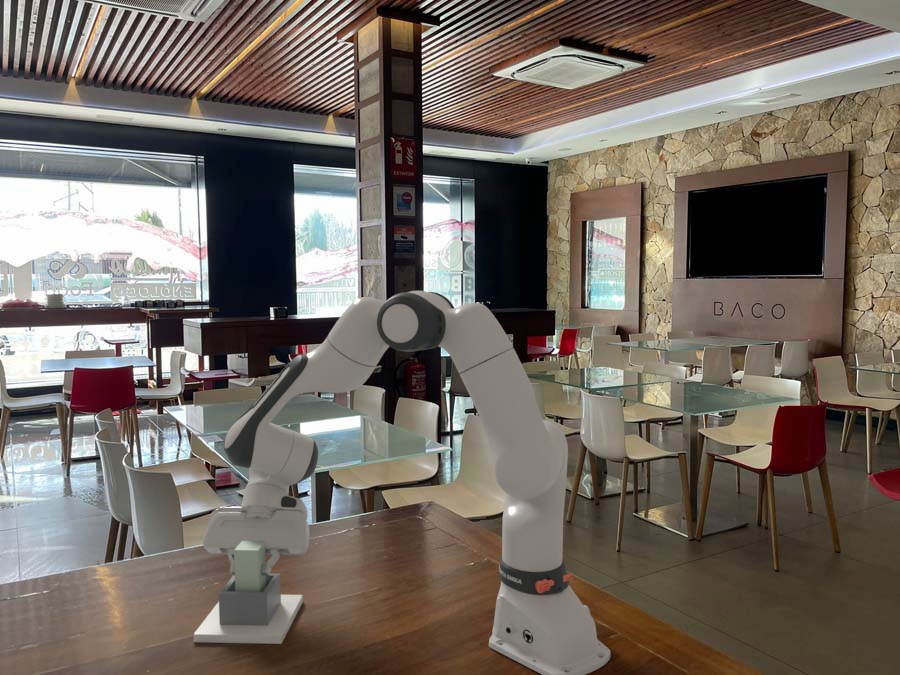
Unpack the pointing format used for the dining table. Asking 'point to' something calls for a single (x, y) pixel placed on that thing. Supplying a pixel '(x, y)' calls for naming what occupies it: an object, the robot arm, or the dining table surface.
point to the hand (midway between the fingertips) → (249, 574)
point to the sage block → (249, 566)
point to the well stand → (250, 615)
